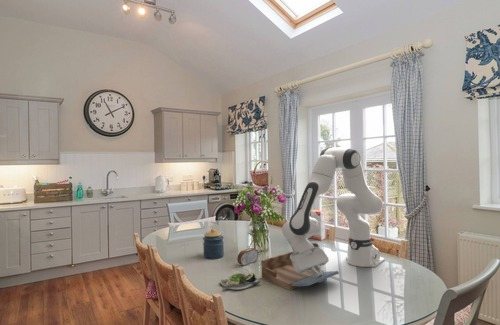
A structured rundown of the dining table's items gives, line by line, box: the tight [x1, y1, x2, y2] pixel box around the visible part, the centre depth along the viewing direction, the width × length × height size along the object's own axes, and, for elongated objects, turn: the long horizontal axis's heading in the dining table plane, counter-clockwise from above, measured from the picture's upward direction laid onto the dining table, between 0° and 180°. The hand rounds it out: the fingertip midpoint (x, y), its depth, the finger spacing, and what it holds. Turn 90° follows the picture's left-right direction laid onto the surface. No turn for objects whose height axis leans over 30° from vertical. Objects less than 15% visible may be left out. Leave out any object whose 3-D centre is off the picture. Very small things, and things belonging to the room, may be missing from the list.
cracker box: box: [309, 209, 326, 241], centre depth 233 cm, size 14×6×21 cm, turn 43°
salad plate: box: [219, 272, 261, 291], centre depth 152 cm, size 19×18×5 cm
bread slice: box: [237, 247, 259, 267], centre depth 182 cm, size 15×3×8 cm, turn 134°
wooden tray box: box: [260, 250, 324, 291], centre depth 158 cm, size 24×20×9 cm
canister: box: [202, 228, 225, 260], centre depth 197 cm, size 13×13×18 cm
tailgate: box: [291, 270, 340, 287], centre depth 146 cm, size 22×2×10 cm
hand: (320, 276), depth 144 cm, fingers closed, pressing on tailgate
